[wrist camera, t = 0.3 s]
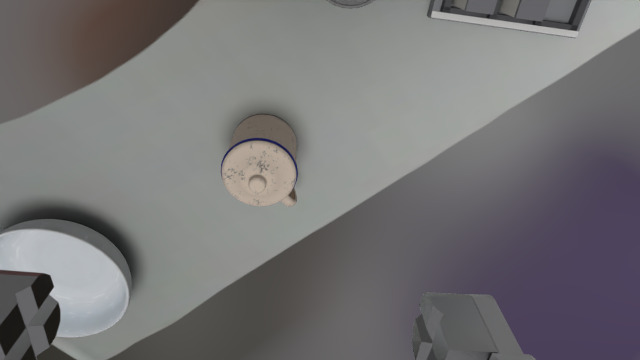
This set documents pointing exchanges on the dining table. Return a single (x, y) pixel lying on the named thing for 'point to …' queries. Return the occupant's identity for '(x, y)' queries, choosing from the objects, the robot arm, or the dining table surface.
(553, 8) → the panel
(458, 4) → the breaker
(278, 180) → the teacup with lid
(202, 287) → the dining table surface
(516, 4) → the block
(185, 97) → the dining table surface
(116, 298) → the serving bowl
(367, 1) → the canned tomato
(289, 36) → the dining table surface
